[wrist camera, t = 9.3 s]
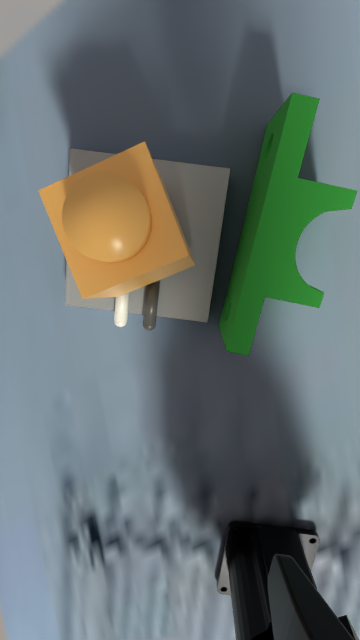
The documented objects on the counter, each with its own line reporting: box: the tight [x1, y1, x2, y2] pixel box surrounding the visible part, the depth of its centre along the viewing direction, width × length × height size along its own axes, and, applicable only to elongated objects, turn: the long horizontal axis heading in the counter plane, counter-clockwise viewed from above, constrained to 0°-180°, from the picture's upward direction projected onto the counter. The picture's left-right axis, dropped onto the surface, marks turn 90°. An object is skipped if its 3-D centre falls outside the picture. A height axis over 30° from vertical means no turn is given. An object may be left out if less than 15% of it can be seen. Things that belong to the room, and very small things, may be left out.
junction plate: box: [65, 148, 230, 330], centre depth 17 cm, size 9×8×5 cm
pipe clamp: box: [218, 93, 357, 356], centre depth 17 cm, size 11×4×5 cm, turn 169°
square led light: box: [38, 141, 195, 299], centre depth 14 cm, size 4×4×6 cm
